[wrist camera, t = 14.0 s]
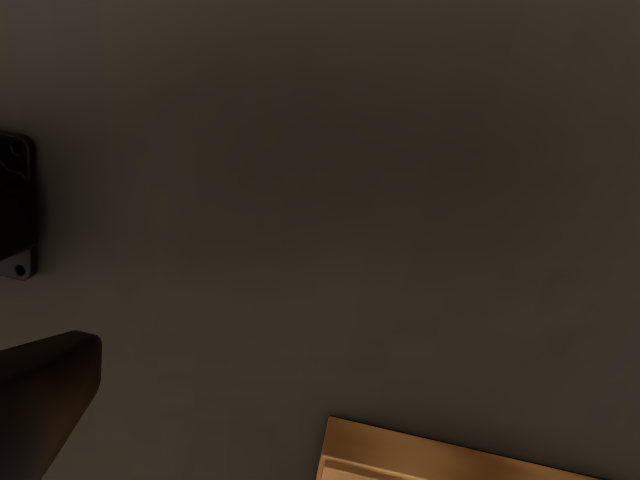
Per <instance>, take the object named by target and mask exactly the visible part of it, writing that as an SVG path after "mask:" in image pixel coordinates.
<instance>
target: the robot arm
mask: <svg viewBox="0 0 640 480" xmlns="http://www.w3.org/2000/svg"><path fill="white" fill-rule="evenodd" d="M19 143H20V144H21V145H22V148H23V151H22V152H21V151H20V150H19V147H18V144H19ZM22 266H24V268H25V270H26V272H25V271H24V270H23V269H22ZM36 272H37V198H36V183H35V147H34V144H33V142H32V140H31V139H30V138H29V137H27V136H25V135H21V134H16V133H11V132H6V131H0V276H4V277H8V278H13V279H17V280H27V279H29V278H31V277H33V276H34V275H35V274H36ZM101 361H102V341H101V339H100V337H99V336H98V335H95V334H91V333H86V332H82V331H76V330H74V331H70V332H66V333H63V334H59V335H55V336H52V337H48V338H44V339H41V340H37V341H34V342H30V343H26V344H23V345H19V346H15V347H12V348H8V349H5V350H1V351H0V480H41V478H42V477H43V476H44V474H45V473H46V471H47V470H48V468H49V467H50V465H51V464H52V462H53V461H54V459H55V458H56V456H57V454H58V453H59V451H60V450H61V448H62V447H63V445H64V443H65V442H66V440H67V439H68V437H69V436H70V434H71V432H72V431H73V429H74V428H75V426H76V425H77V423H78V421H79V420H80V418H81V417H82V415H83V414H84V412H85V410H86V409H87V407H88V406H89V404H90V403H91V401H92V399H93V398H94V396H95V395H96V393H97V391H98V388H99V385H100V381H101Z"/></svg>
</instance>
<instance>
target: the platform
mask: <svg viewBox="0 0 640 480" xmlns="http://www.w3.org/2000/svg"><path fill="white" fill-rule="evenodd" d="M316 480H601V479H597V478H593V477H589V476H584V475H580V474H576V473H571V472H567V471H563V470H559V469H554V468H550V467H546V466H541V465H537V464H533V463H529V462H524V461H520V460H516V459H511V458H507V457H503V456H499V455H494V454H490V453H486V452H481V451H477V450H473V449H469V448H464V447H460V446H456V445H451V444H447V443H443V442H438V441H434V440H430V439H426V438H421V437H417V436H413V435H408V434H404V433H400V432H396V431H391V430H387V429H383V428H378V427H374V426H370V425H366V424H361V423H357V422H353V421H348V420H344V419H340V418H336V417H331V416H329V418H328V422H327V427H326V432H325V437H324V442H323V447H322V451H321V456H320V461H319V466H318V471H317V476H316Z"/></svg>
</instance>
